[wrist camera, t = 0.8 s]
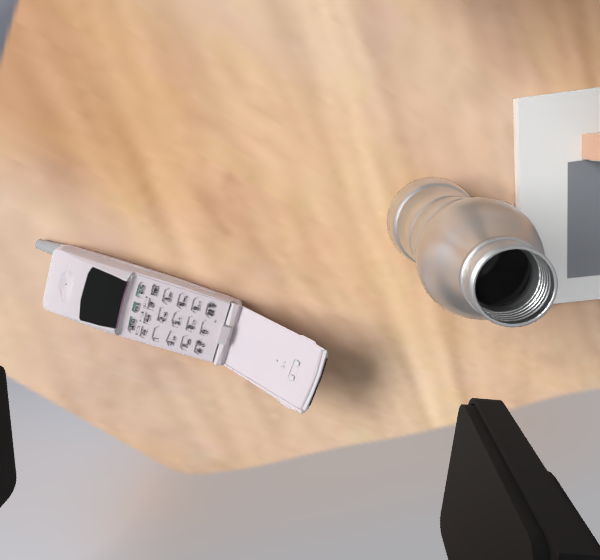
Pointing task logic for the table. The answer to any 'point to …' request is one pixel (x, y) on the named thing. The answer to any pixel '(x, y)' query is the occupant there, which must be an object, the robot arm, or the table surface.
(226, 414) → the table surface
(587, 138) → the tile
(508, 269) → the plastic bottle
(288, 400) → the mobile phone
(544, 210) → the mat
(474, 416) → the robot arm
